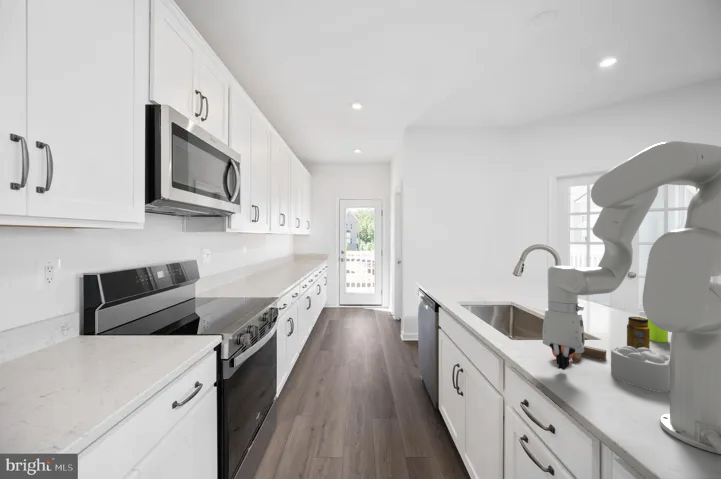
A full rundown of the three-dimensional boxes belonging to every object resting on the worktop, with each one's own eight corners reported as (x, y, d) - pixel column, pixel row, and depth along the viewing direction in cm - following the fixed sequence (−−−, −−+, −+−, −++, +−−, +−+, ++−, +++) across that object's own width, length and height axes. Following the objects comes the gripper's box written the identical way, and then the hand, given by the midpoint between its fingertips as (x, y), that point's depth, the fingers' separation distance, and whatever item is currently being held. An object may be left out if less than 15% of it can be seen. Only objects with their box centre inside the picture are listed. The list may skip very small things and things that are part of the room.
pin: (580, 357, 101) (585, 341, 107) (571, 353, 102) (576, 338, 108) (578, 362, 102) (583, 346, 108) (570, 358, 104) (575, 343, 109)
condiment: (654, 352, 110) (654, 318, 110) (646, 358, 105) (646, 322, 105) (627, 346, 116) (627, 314, 116) (619, 351, 111) (619, 317, 111)
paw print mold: (665, 395, 81) (665, 361, 81) (604, 376, 91) (604, 347, 91) (676, 384, 86) (676, 353, 86) (617, 368, 97) (617, 340, 97)
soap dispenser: (642, 339, 124) (642, 289, 124) (651, 336, 127) (651, 287, 127) (661, 343, 119) (661, 291, 118) (670, 341, 121) (670, 289, 121)
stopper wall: (604, 360, 103) (604, 351, 103) (563, 350, 112) (563, 342, 112) (606, 359, 104) (606, 350, 104) (564, 349, 113) (564, 341, 113)
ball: (574, 346, 104) (580, 357, 99) (560, 356, 107) (565, 368, 101) (559, 335, 105) (564, 345, 99) (545, 345, 107) (549, 356, 102)
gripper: (596, 309, 91) (596, 372, 91) (540, 301, 102) (540, 357, 102) (589, 313, 86) (589, 380, 86) (531, 304, 97) (531, 363, 97)
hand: (562, 367), depth 94 cm, fingers closed
